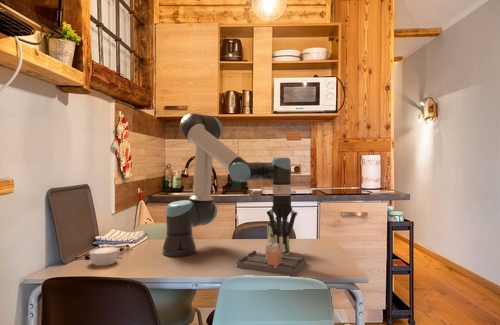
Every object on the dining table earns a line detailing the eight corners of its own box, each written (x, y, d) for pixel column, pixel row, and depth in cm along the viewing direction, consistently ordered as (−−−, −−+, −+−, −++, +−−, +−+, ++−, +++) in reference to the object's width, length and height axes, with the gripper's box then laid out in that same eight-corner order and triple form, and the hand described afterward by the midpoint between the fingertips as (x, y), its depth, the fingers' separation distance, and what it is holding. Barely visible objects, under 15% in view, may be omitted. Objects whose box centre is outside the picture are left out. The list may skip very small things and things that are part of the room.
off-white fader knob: (265, 257, 142) (265, 244, 142) (269, 254, 146) (269, 242, 146) (274, 258, 140) (274, 245, 140) (278, 255, 145) (278, 243, 145)
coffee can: (290, 250, 162) (290, 220, 162) (288, 256, 151) (288, 224, 151) (268, 249, 164) (268, 220, 164) (265, 255, 154) (265, 223, 153)
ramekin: (90, 260, 145) (90, 248, 145) (118, 258, 149) (118, 245, 149) (88, 268, 135) (88, 254, 135) (118, 265, 139) (118, 252, 139)
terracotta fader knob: (267, 264, 132) (267, 251, 132) (272, 261, 136) (272, 248, 136) (277, 265, 130) (277, 252, 130) (281, 262, 135) (281, 249, 135)
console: (236, 267, 136) (236, 259, 136) (253, 256, 151) (253, 250, 151) (294, 275, 126) (294, 267, 126) (306, 263, 141) (306, 256, 141)
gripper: (263, 195, 141) (264, 252, 141) (294, 196, 135) (294, 255, 135) (270, 193, 148) (270, 248, 148) (299, 194, 142) (300, 251, 142)
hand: (282, 251), depth 141 cm, fingers closed
